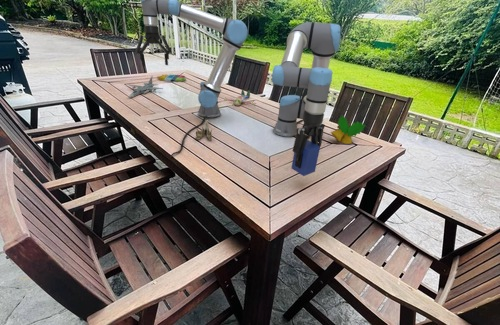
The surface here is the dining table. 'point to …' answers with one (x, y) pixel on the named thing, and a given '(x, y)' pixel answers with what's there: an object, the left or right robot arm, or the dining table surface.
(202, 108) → the left robot arm
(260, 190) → the dining table surface
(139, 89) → the airplane
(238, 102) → the toy
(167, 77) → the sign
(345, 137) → the ornament
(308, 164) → the brick
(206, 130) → the jawbone
